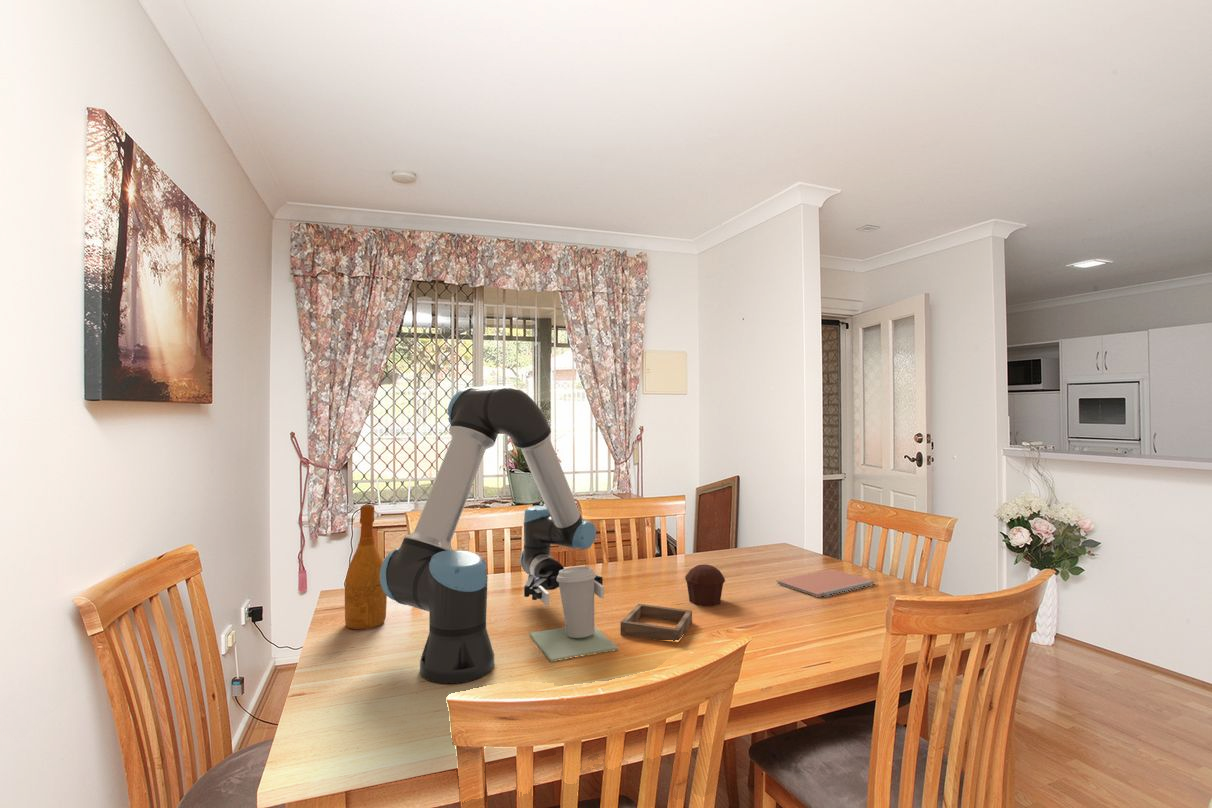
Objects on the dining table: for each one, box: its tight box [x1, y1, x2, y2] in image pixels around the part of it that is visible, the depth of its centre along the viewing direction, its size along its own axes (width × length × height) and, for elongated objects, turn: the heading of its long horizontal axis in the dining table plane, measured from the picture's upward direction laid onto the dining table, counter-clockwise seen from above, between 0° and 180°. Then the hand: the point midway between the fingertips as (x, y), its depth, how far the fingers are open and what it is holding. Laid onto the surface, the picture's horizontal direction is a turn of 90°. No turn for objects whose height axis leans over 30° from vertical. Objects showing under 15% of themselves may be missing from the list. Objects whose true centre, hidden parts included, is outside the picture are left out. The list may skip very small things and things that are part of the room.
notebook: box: [775, 568, 875, 598], centre depth 182 cm, size 27×17×2 cm, turn 121°
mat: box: [529, 626, 619, 662], centre depth 135 cm, size 16×16×1 cm
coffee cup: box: [556, 565, 596, 638], centre depth 139 cm, size 10×10×15 cm
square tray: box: [619, 603, 693, 641], centre depth 145 cm, size 14×14×3 cm
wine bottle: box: [344, 504, 388, 630], centre depth 146 cm, size 10×10×30 cm
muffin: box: [684, 564, 726, 607], centre depth 165 cm, size 12×11×10 cm
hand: (575, 596), depth 135 cm, fingers open, 13 cm apart
